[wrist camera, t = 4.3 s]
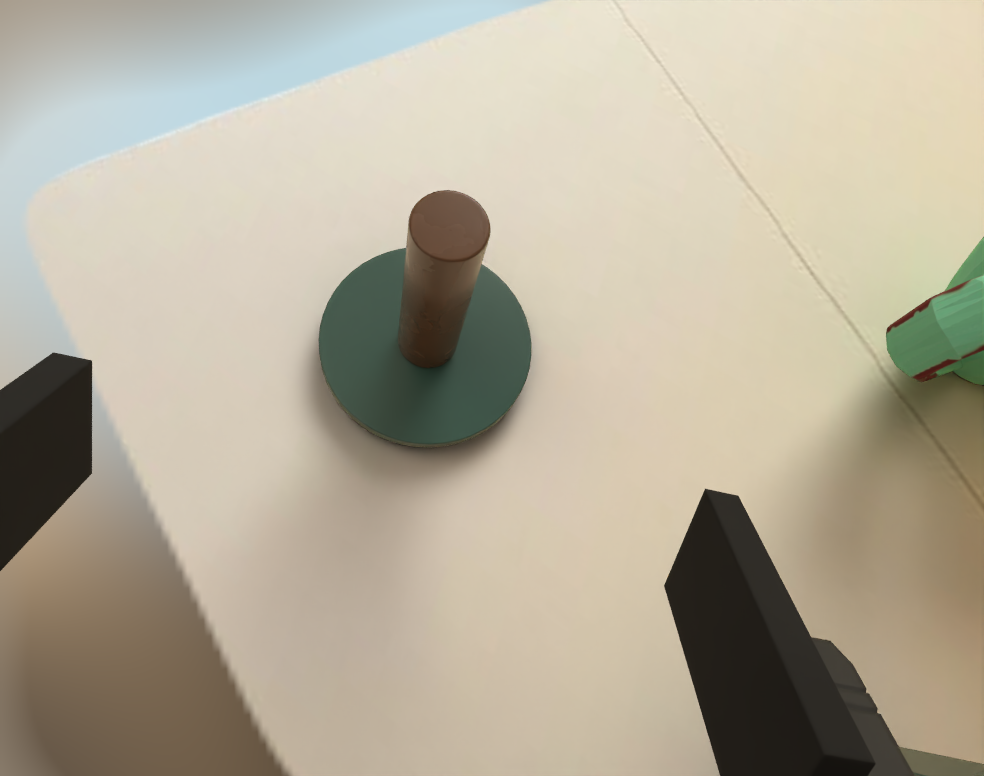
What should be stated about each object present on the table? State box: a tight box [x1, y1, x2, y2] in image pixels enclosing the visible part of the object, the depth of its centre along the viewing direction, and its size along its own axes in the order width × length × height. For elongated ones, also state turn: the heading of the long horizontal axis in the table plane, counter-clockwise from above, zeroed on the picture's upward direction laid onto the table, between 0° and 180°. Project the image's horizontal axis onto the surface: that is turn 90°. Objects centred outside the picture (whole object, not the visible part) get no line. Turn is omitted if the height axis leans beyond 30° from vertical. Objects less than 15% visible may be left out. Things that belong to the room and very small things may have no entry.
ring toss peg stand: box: [319, 190, 531, 448], centre depth 26 cm, size 9×9×10 cm
